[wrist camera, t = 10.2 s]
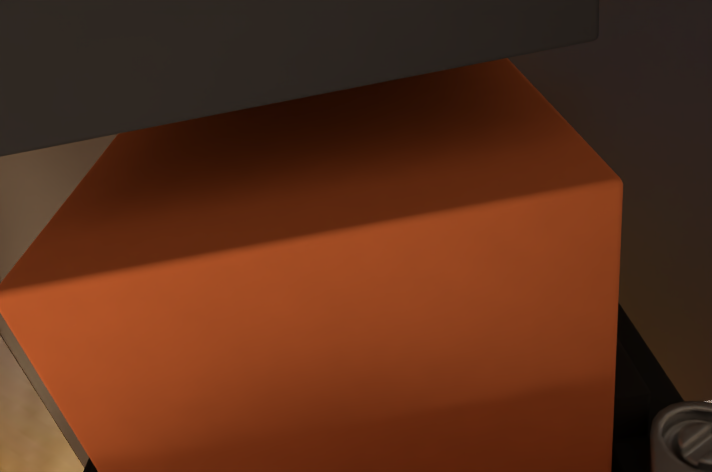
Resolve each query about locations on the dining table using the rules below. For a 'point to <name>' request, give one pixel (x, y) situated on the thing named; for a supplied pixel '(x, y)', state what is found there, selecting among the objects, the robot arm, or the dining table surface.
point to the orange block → (337, 287)
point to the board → (593, 123)
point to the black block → (240, 55)
